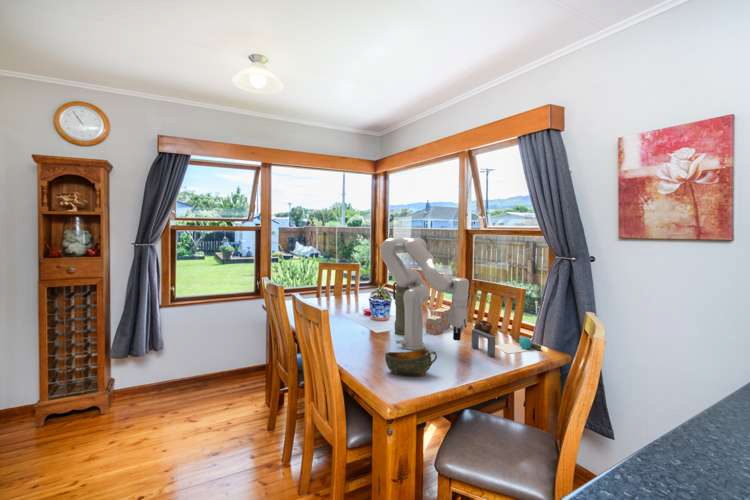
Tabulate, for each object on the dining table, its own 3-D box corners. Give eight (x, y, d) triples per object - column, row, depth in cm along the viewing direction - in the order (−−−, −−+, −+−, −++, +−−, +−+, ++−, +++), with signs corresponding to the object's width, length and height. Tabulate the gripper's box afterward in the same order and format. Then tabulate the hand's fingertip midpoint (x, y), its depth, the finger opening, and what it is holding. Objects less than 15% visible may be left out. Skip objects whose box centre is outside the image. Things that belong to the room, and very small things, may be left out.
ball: (522, 344, 188) (531, 337, 190) (514, 340, 194) (523, 333, 195) (527, 353, 190) (535, 346, 191) (519, 348, 196) (527, 342, 197)
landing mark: (508, 353, 185) (508, 353, 185) (491, 346, 197) (491, 345, 197) (529, 351, 189) (529, 350, 189) (511, 343, 201) (511, 343, 201)
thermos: (409, 336, 214) (410, 276, 212) (390, 333, 219) (390, 275, 217) (413, 332, 222) (414, 274, 221) (395, 330, 227) (396, 273, 225)
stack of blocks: (435, 335, 218) (435, 314, 217) (425, 333, 221) (426, 313, 221) (450, 327, 235) (451, 308, 234) (441, 326, 239) (442, 307, 238)
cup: (424, 384, 147) (425, 358, 147) (382, 373, 158) (382, 350, 158) (438, 374, 158) (438, 350, 158) (397, 365, 169) (397, 343, 169)
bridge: (489, 357, 179) (490, 337, 179) (471, 347, 194) (471, 329, 193) (494, 356, 181) (495, 336, 180) (476, 347, 195) (476, 329, 194)
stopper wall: (538, 350, 189) (538, 346, 189) (515, 342, 204) (516, 337, 204) (541, 350, 190) (541, 345, 190) (518, 341, 205) (519, 337, 205)
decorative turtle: (469, 335, 218) (469, 321, 218) (480, 331, 229) (480, 318, 229) (485, 337, 211) (485, 323, 212) (496, 333, 223) (496, 320, 223)
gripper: (444, 300, 187) (442, 335, 188) (461, 307, 173) (458, 345, 174) (457, 299, 189) (454, 334, 191) (475, 306, 175) (472, 344, 177)
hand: (456, 339), depth 182 cm, fingers closed
